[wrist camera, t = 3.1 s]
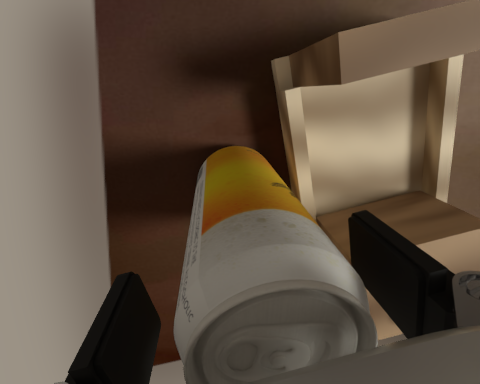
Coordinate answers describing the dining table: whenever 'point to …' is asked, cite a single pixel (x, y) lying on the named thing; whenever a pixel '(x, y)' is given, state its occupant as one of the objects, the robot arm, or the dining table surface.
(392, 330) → the block
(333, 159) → the vise base
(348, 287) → the beer can
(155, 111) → the dining table surface
